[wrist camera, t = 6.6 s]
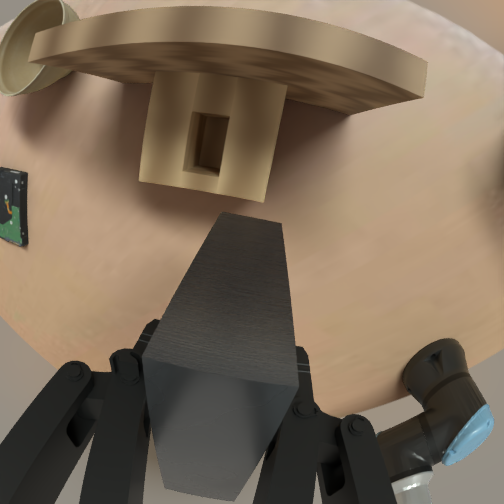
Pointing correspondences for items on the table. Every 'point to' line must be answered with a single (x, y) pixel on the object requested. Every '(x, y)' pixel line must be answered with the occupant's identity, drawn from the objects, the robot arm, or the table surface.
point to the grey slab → (223, 360)
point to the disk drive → (13, 206)
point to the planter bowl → (19, 46)
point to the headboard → (228, 83)
